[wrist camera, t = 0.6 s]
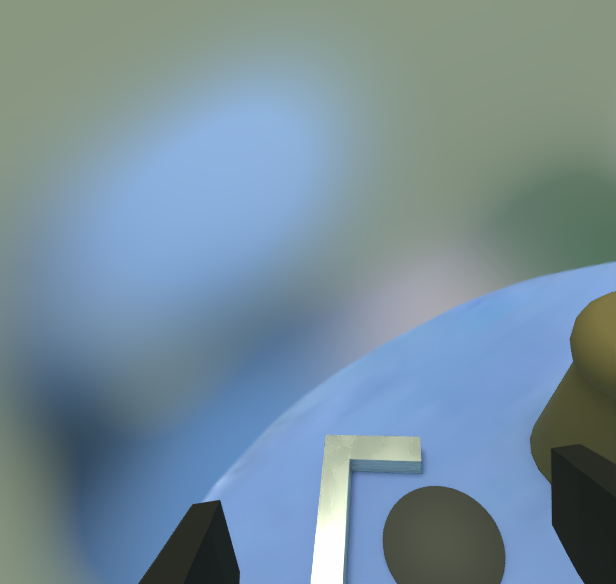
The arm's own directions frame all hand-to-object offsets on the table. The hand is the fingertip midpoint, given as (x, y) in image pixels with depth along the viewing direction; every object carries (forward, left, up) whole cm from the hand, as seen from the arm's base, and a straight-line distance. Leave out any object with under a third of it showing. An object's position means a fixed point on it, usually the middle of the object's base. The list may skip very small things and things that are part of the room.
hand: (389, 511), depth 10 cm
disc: (+5, -2, -16) cm, 17 cm away
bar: (+5, +2, -16) cm, 17 cm away
